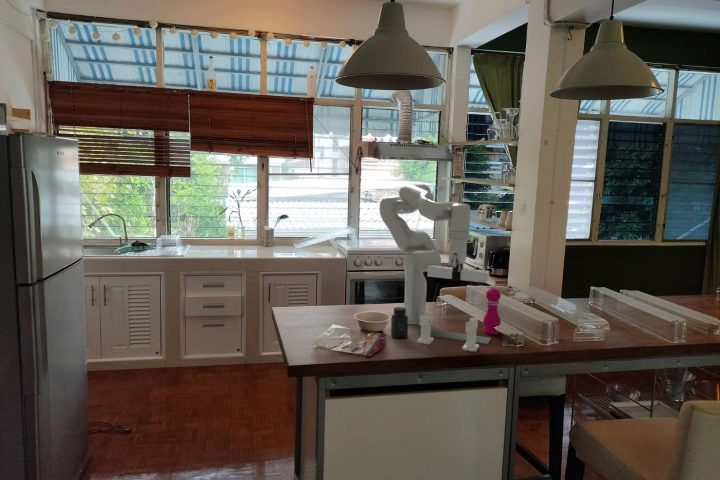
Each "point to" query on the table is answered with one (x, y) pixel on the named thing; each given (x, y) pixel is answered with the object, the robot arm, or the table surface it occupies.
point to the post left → (425, 328)
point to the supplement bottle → (399, 324)
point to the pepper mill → (492, 311)
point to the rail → (464, 273)
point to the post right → (471, 335)
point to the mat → (457, 336)
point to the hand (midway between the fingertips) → (457, 279)
